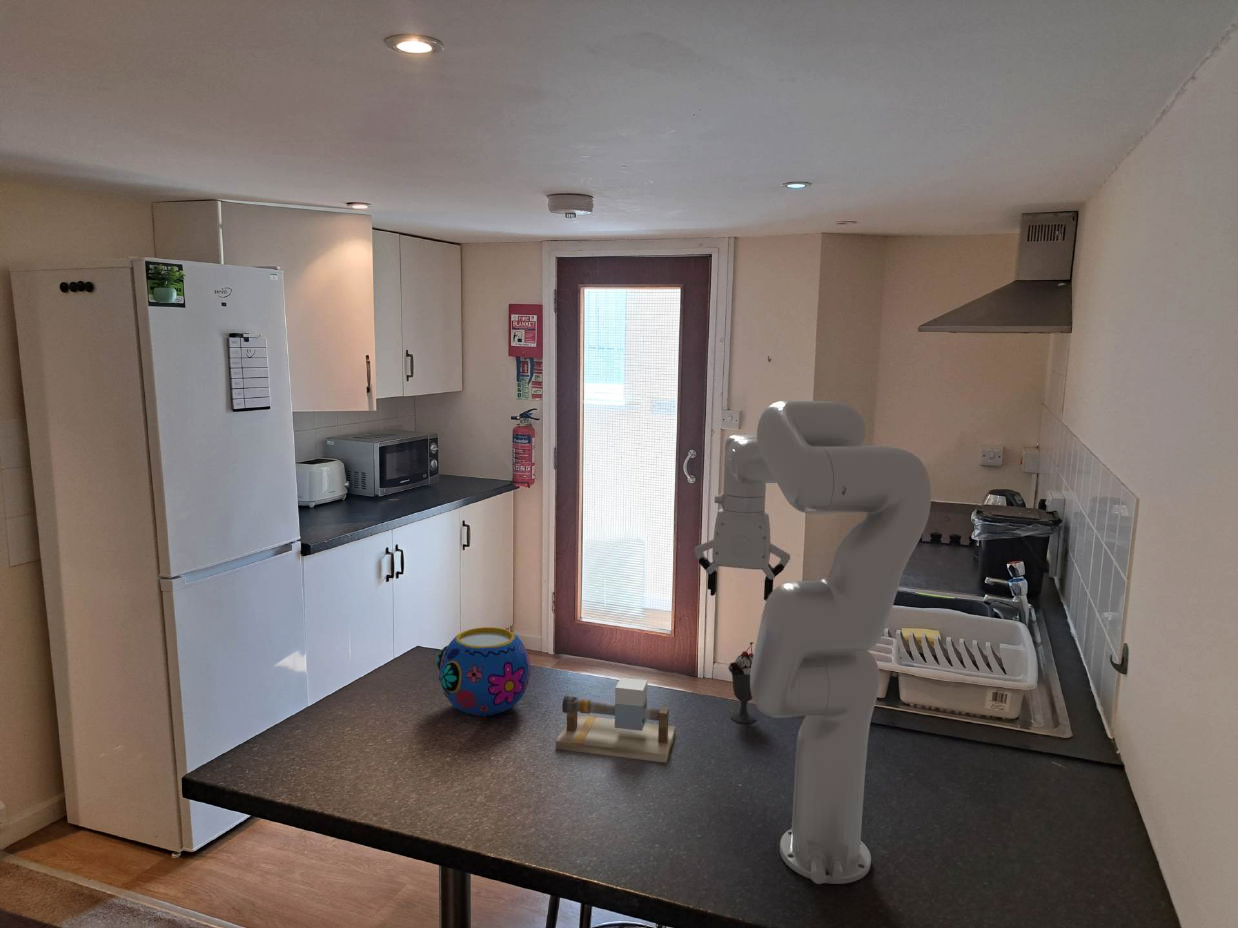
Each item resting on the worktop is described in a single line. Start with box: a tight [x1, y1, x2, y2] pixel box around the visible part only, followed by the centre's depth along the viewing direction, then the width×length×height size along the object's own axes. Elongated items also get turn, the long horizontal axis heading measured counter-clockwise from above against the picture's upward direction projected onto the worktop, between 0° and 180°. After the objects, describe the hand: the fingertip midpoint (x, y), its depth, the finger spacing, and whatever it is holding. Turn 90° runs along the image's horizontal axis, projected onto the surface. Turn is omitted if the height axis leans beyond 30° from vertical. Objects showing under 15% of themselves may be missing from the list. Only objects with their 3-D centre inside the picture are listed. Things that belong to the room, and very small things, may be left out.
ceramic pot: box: [436, 626, 532, 716], centre depth 161 cm, size 18×18×15 cm
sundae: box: [727, 641, 757, 725], centre depth 159 cm, size 7×7×15 cm
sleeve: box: [614, 677, 649, 731], centre depth 148 cm, size 5×5×8 cm
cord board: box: [555, 695, 676, 764], centre depth 149 cm, size 11×20×8 cm, turn 78°
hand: (739, 596), depth 149 cm, fingers open, 9 cm apart
